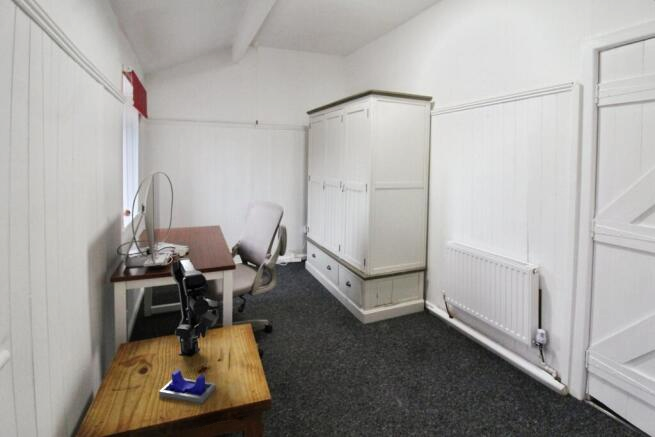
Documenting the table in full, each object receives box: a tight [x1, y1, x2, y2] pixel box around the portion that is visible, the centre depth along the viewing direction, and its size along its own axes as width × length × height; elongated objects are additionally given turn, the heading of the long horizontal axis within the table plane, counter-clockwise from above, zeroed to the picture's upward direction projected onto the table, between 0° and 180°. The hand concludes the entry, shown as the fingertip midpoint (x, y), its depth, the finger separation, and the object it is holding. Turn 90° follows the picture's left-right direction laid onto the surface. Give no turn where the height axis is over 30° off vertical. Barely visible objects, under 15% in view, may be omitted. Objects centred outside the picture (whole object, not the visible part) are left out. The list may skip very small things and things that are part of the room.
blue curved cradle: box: [169, 369, 206, 396], centre depth 132 cm, size 12×4×6 cm, turn 73°
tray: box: [158, 377, 217, 405], centre depth 133 cm, size 17×9×2 cm, turn 77°
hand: (197, 342), depth 144 cm, fingers open, 9 cm apart
